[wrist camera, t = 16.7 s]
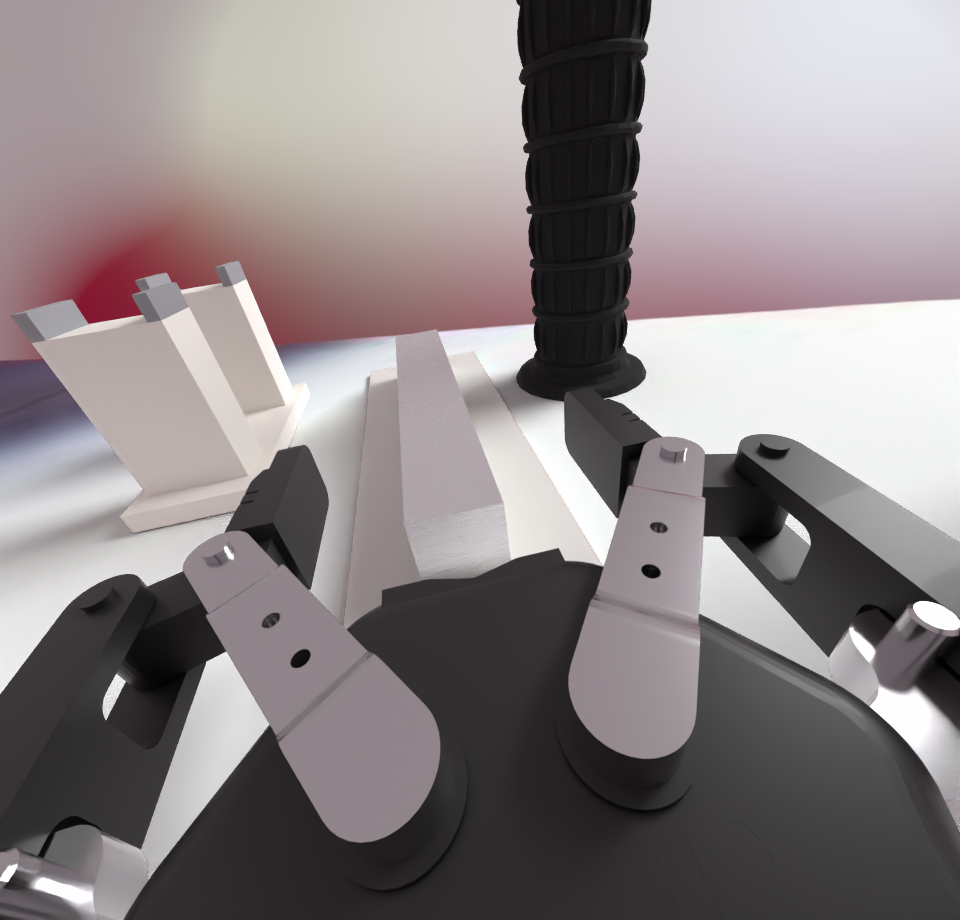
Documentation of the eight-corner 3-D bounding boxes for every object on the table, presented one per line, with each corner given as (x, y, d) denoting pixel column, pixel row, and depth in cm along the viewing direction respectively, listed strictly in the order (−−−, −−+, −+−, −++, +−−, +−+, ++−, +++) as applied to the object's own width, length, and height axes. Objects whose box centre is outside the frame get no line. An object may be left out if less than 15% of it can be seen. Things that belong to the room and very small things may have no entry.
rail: (405, 376, 35) (395, 336, 33) (443, 368, 36) (436, 329, 34) (425, 591, 15) (404, 525, 13) (512, 570, 16) (503, 502, 14)
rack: (310, 394, 36) (255, 256, 30) (263, 504, 22) (146, 295, 16) (230, 410, 35) (156, 273, 29) (133, 533, 22) (-41, 326, 16)
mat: (474, 355, 39) (473, 351, 39) (603, 574, 15) (603, 567, 15) (372, 375, 38) (370, 371, 38) (346, 638, 15) (342, 632, 14)
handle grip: (601, 413, 26) (669, 362, 31) (637, -402, 11) (752, -237, 17) (491, 383, 32) (563, 345, 38) (424, -164, 18) (557, -99, 23)
